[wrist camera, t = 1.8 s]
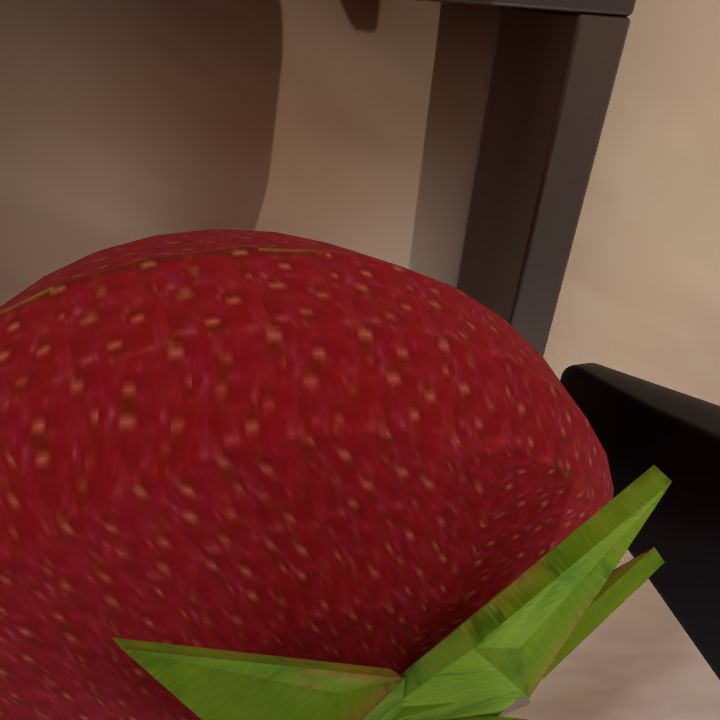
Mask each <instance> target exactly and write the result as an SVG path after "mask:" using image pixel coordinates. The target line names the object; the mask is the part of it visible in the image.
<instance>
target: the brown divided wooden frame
mask: <svg viewBox="0 0 720 720" xmlns="http://www.w3.org/2000/svg"><path fill="white" fill-rule="evenodd" d="M418 1H432V2H445V3H458V4H471V5H484V6H497V7H504V11H503V17H502V23H501V29H500V35H499V41H498V47H497V52H496V58H495V64H494V70H493V76H492V82H491V88H490V94H489V100H488V106H487V112H486V118H485V124H484V130H483V136H482V142H481V148H480V154H479V160H478V166H477V172H476V178H475V184H474V190H473V196H472V202H471V208H470V214H469V220H468V226H467V232H466V238H465V244H464V250H463V255H462V261H461V267H460V273H459V279H458V285H457V289H460V290H461V291H463V292H464V293H466V294H467V295H469V296H470V297H472V298H473V299H475V300H476V301H478V302H479V303H481V304H482V305H484V306H485V307H486V308H488V309H489V310H491V311H492V312H494V313H495V314H497V315H498V316H500V317H501V318H503V319H504V320H506V321H507V322H508V323H509V324H510V325H511V326H512V327H513V328H514V329H515V330H516V331H517V332H518V333H519V334H520V335H521V336H522V337H523V338H524V339H525V340H526V341H528V342H529V343H530V344H531V345H532V346H533V347H534V348H535V349H536V350H537V351H538V352H539V353H540V354H541V355H542V357H543V355H544V351H545V347H546V343H547V339H548V336H549V332H550V328H551V324H552V320H553V316H554V312H555V309H556V305H557V301H558V297H559V293H560V289H561V285H562V282H563V278H564V274H565V270H566V266H567V262H568V259H569V255H570V251H571V247H572V243H573V239H574V235H575V232H576V228H577V224H578V220H579V216H580V212H581V209H582V205H583V201H584V197H585V193H586V189H587V185H588V182H589V178H590V174H591V170H592V166H593V162H594V159H595V155H596V151H597V147H598V143H599V139H600V135H601V132H602V128H603V124H604V120H605V116H606V112H607V108H608V105H609V101H610V97H611V93H612V89H613V85H614V82H615V78H616V74H617V70H618V66H619V62H620V58H621V55H622V51H623V47H624V43H625V39H626V35H627V32H628V28H629V24H630V19H629V18H628V17H626V16H629V15H631V14H632V12H633V9H634V5H635V1H636V0H418Z"/></svg>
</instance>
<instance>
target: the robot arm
mask: <svg viewBox="0 0 720 720" xmlns="http://www.w3.org/2000/svg"><path fill="white" fill-rule="evenodd" d="M560 382H561V383H562V385H563V386H564V387H565V389H566V390H567V392H568V393H569V394H570V396H571V397H572V399H573V400H574V401H575V403H576V404H577V406H578V407H579V408H580V410H581V411H582V413H583V414H584V415H585V417H586V418H587V419H588V421H589V423H590V425H591V427H592V429H593V430H594V432H595V434H596V436H597V438H598V439H599V441H600V443H601V445H602V447H603V448H604V450H605V452H606V454H607V459H608V464H609V469H610V473H611V478H612V483H613V488H614V492H613V498H614V497H616V496H617V495H618V494H619V493H620V492H622V491H623V490H624V489H625V488H627V487H628V486H629V485H630V484H631V483H633V482H634V481H635V480H636V479H637V478H639V477H640V476H641V475H642V474H643V473H645V472H646V471H647V470H648V469H650V468H651V467H652V466H653V465H655V466H656V467H657V468H658V469H659V470H660V471H661V472H663V473H664V474H665V475H666V476H667V477H668V478H669V479H670V480H671V481H672V482H671V484H670V485H669V487H668V489H667V490H666V492H665V493H664V495H663V496H662V498H661V499H660V501H659V502H658V504H657V505H656V507H655V508H654V510H653V511H652V513H651V514H650V516H649V517H648V519H647V520H646V522H645V523H644V525H643V526H642V528H641V529H640V531H639V532H638V534H637V535H636V537H635V538H634V540H633V541H632V543H631V544H630V546H629V547H628V550H629V551H630V553H631V554H632V556H633V557H634V558H636V557H637V556H639V555H641V554H643V553H645V552H646V551H648V550H650V549H652V548H653V547H655V549H656V550H657V552H658V553H659V555H660V556H661V558H662V559H663V560H664V562H665V563H664V564H663V565H662V566H660V567H659V568H658V569H657V570H656V571H655V572H654V573H653V574H652V575H651V576H650V577H649V580H650V581H651V583H652V584H653V586H654V587H655V588H656V590H657V591H658V593H659V594H660V596H661V597H662V598H663V600H664V601H665V603H666V604H667V605H668V607H669V608H670V610H671V611H672V613H673V614H674V615H675V617H676V618H677V620H678V621H679V623H680V624H681V625H682V627H683V628H684V630H685V631H686V633H687V634H688V635H689V637H690V638H691V640H692V641H693V643H694V644H695V645H696V647H697V648H698V650H699V651H700V652H701V654H702V655H703V657H704V658H705V660H706V661H707V662H708V664H709V665H710V667H711V668H712V670H713V671H714V672H715V674H716V675H717V677H718V678H719V680H720V406H718V405H715V404H712V403H709V402H706V401H703V400H701V399H698V398H695V397H692V396H689V395H686V394H683V393H680V392H677V391H674V390H671V389H669V388H666V387H663V386H660V385H657V384H654V383H651V382H648V381H645V380H642V379H639V378H637V377H634V376H631V375H628V374H625V373H622V372H619V371H616V370H613V369H610V368H607V367H604V366H602V365H599V364H595V363H585V364H579V365H572V366H569V367H568V368H566V369H565V371H564V372H563V374H562V376H561V380H560Z"/></svg>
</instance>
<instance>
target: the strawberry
mask: <svg viewBox="0 0 720 720" xmlns="http://www.w3.org/2000/svg"><path fill="white" fill-rule="evenodd" d="M671 482H672V481H671V480H670V479H669V478H668V477H667V476H666V475H665V474H664V473H663V472H661V471H660V470H659V469H658V468H657V467H656V466H655V465H653V466H652V467H651V468H650V469H648V470H647V471H646V472H645V473H643V474H642V475H641V476H640V477H639V478H637V479H636V480H635V481H634V482H633V483H631V484H630V485H629V486H628V487H627V488H625V489H624V490H623V491H622V492H620V493H619V494H618V495H617V496H616V497H614V498H613V492H614V488H613V483H612V478H611V473H610V469H609V464H608V459H607V454H606V452H605V450H604V448H603V447H602V445H601V443H600V441H599V439H598V438H597V436H596V434H595V432H594V430H593V429H592V427H591V425H590V423H589V421H588V419H587V418H586V417H585V415H584V414H583V413H582V411H581V410H580V408H579V407H578V406H577V404H576V403H575V401H574V400H573V399H572V397H571V396H570V394H569V393H568V392H567V390H566V389H565V387H564V386H563V385H562V383H561V382H560V380H559V379H558V378H557V376H556V375H555V374H554V372H553V371H552V369H551V368H550V367H549V365H548V364H547V362H546V361H545V360H544V358H543V357H542V355H541V354H540V353H539V352H538V351H537V350H536V349H535V348H534V347H533V346H532V345H531V344H530V343H529V342H528V341H526V340H525V339H524V338H523V337H522V336H521V335H520V334H519V333H518V332H517V331H516V330H515V329H514V328H513V327H512V326H511V325H510V324H509V323H508V322H507V321H506V320H504V319H503V318H501V317H500V316H498V315H497V314H495V313H494V312H492V311H491V310H489V309H488V308H486V307H485V306H484V305H482V304H481V303H479V302H478V301H476V300H475V299H473V298H472V297H470V296H469V295H467V294H466V293H464V292H463V291H461V290H460V289H457V288H455V287H452V286H449V285H447V284H444V283H442V282H439V281H437V280H434V279H432V278H429V277H426V276H424V275H421V274H419V273H416V272H414V271H411V270H408V269H406V268H403V267H401V266H398V265H395V264H392V263H389V262H386V261H382V260H379V259H376V258H373V257H370V256H367V255H364V254H360V253H357V252H354V251H351V250H348V249H345V248H342V247H338V246H335V245H332V244H329V243H324V242H320V241H315V240H310V239H305V238H300V237H296V236H291V235H286V234H281V233H276V232H261V231H242V230H222V229H214V230H204V231H194V232H185V233H175V234H165V235H156V236H152V237H148V238H145V239H141V240H137V241H133V242H130V243H126V244H122V245H119V246H115V247H111V248H108V249H104V250H100V251H97V252H95V253H92V254H90V255H88V256H86V257H84V258H82V259H80V260H78V261H76V262H74V263H71V264H69V265H67V266H65V267H63V268H61V269H59V270H57V271H55V272H53V273H50V274H48V275H46V276H44V277H43V278H41V279H40V280H38V281H37V282H36V283H34V284H33V285H31V286H30V287H28V288H27V289H25V290H24V291H23V292H21V293H20V294H18V295H17V296H15V297H14V298H13V299H11V300H10V301H8V302H7V303H5V304H4V305H3V306H1V307H0V720H525V719H517V718H509V717H501V716H498V715H499V714H500V713H502V712H503V711H504V710H505V709H507V708H508V707H509V706H510V705H511V704H513V703H514V702H515V701H516V700H517V699H519V698H529V697H530V695H531V694H532V692H533V691H534V689H535V688H536V686H537V685H538V683H539V682H540V680H542V679H543V678H544V677H545V676H546V675H547V674H548V673H549V672H551V671H552V670H553V669H554V668H555V667H556V666H557V665H558V664H559V663H560V662H561V661H562V660H563V659H564V658H565V657H566V656H567V655H568V654H569V653H570V652H571V651H573V650H574V649H575V648H576V647H577V646H578V645H579V644H580V643H581V642H582V641H583V640H584V639H585V638H586V637H587V636H588V635H589V634H590V633H591V632H592V631H593V630H594V629H596V628H597V627H598V626H599V625H600V624H601V623H602V622H603V621H604V620H605V619H606V618H607V617H608V616H609V615H610V614H611V613H612V612H613V611H614V610H615V609H616V608H618V607H619V606H620V605H621V604H622V603H623V602H624V601H625V600H626V599H627V598H628V597H629V596H630V595H631V594H632V593H633V592H634V591H635V590H636V589H637V588H638V587H640V586H641V585H642V584H643V583H644V582H645V581H646V580H647V579H648V578H649V577H650V576H651V575H652V574H653V573H654V572H655V571H656V570H657V569H658V568H659V567H660V566H662V565H663V564H664V563H665V562H664V560H663V559H662V558H661V556H660V555H659V553H658V552H657V550H656V549H655V547H653V548H652V549H650V550H648V551H646V552H645V553H643V554H641V555H639V556H637V557H636V558H634V559H632V560H630V561H629V562H627V563H625V564H623V565H622V566H620V567H618V568H616V569H615V567H616V566H617V564H618V563H619V561H620V559H621V558H622V556H623V555H624V553H625V552H626V550H627V549H628V547H629V546H630V544H631V543H632V541H633V540H634V538H635V537H636V535H637V534H638V532H639V531H640V529H641V528H642V526H643V525H644V523H645V522H646V520H647V519H648V517H649V516H650V514H651V513H652V511H653V510H654V508H655V507H656V505H657V504H658V502H659V501H660V499H661V498H662V496H663V495H664V493H665V492H666V490H667V489H668V487H669V485H670V484H671ZM614 569H615V570H614Z"/></svg>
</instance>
